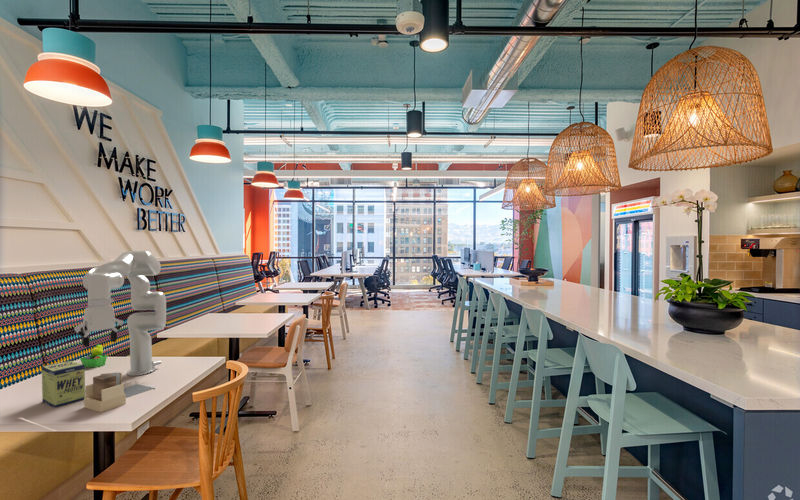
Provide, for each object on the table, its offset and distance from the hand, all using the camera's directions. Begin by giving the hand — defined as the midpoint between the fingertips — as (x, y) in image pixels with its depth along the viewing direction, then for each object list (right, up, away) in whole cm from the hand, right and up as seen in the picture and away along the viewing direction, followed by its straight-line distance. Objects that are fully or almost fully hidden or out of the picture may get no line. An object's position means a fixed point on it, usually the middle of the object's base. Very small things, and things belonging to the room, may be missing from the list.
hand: (100, 344), depth 163 cm
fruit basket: (-48, -27, +59) cm, 81 cm away
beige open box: (+3, -26, -1) cm, 26 cm away
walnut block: (+3, -25, -1) cm, 25 cm away
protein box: (-20, -26, +6) cm, 34 cm away
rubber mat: (+2, -26, +15) cm, 30 cm away
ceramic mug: (-11, -26, +21) cm, 35 cm away
